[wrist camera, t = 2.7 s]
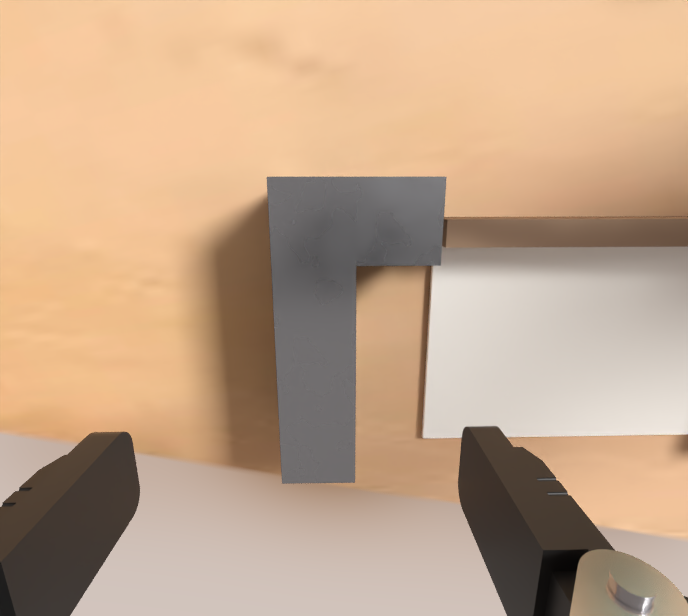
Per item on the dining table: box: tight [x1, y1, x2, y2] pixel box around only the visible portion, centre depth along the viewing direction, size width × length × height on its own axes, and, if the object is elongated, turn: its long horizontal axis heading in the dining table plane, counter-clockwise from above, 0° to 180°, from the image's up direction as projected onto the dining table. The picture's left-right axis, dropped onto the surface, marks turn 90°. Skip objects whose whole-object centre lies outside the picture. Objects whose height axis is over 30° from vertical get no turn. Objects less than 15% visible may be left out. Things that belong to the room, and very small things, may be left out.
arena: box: [442, 217, 688, 248], centre depth 25 cm, size 15×22×3 cm, turn 90°
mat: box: [422, 246, 688, 438], centre depth 26 cm, size 14×21×1 cm, turn 90°
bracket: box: [267, 177, 446, 484], centre depth 23 cm, size 16×8×6 cm, turn 0°
